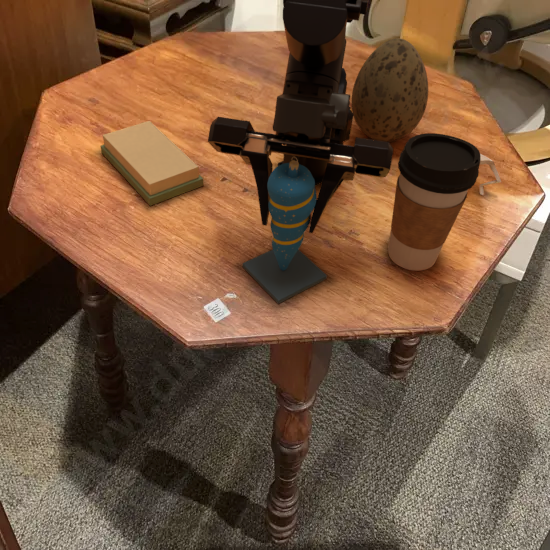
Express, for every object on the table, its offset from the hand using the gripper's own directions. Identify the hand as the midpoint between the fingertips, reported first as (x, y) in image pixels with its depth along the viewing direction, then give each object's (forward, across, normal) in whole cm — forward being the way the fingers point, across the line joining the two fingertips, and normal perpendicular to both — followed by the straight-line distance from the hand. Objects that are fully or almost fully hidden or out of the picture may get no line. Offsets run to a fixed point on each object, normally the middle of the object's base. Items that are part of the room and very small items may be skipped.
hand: (287, 228), depth 64 cm
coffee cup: (0, +15, +11) cm, 18 cm away
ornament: (+4, 0, +6) cm, 7 cm away
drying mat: (+5, 0, +6) cm, 8 cm away
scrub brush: (-6, -21, +17) cm, 28 cm away
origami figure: (-11, +20, +23) cm, 32 cm away
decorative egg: (-18, +10, +30) cm, 36 cm away
